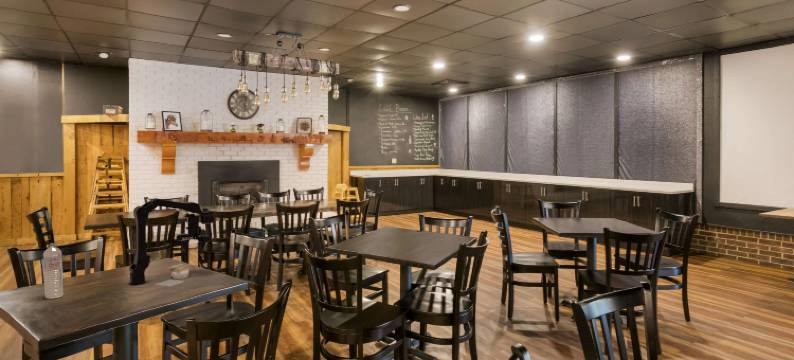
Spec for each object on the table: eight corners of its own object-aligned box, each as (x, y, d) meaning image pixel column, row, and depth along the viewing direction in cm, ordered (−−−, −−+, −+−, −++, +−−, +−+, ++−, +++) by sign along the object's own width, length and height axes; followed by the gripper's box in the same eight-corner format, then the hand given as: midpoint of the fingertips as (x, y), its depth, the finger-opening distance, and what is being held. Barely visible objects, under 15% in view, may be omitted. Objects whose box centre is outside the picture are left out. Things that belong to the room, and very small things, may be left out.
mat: (154, 285, 228) (154, 284, 228) (170, 280, 238) (170, 279, 238) (170, 287, 225) (170, 286, 225) (185, 282, 235) (185, 281, 235)
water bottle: (43, 300, 205) (41, 245, 203) (46, 295, 211) (44, 243, 209) (61, 298, 208) (59, 244, 206) (64, 293, 214) (62, 241, 213)
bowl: (167, 279, 239) (167, 271, 239) (180, 275, 247) (179, 267, 247) (180, 281, 237) (180, 272, 236) (192, 276, 244) (192, 268, 244)
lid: (169, 271, 239) (169, 267, 239) (181, 267, 246) (181, 263, 246) (178, 272, 237) (178, 268, 237) (190, 268, 244) (190, 264, 244)
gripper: (217, 223, 252) (218, 251, 253) (190, 222, 258) (191, 249, 259) (203, 226, 241) (203, 255, 242) (175, 224, 247) (176, 253, 248)
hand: (193, 253), depth 248 cm, fingers open, 9 cm apart
